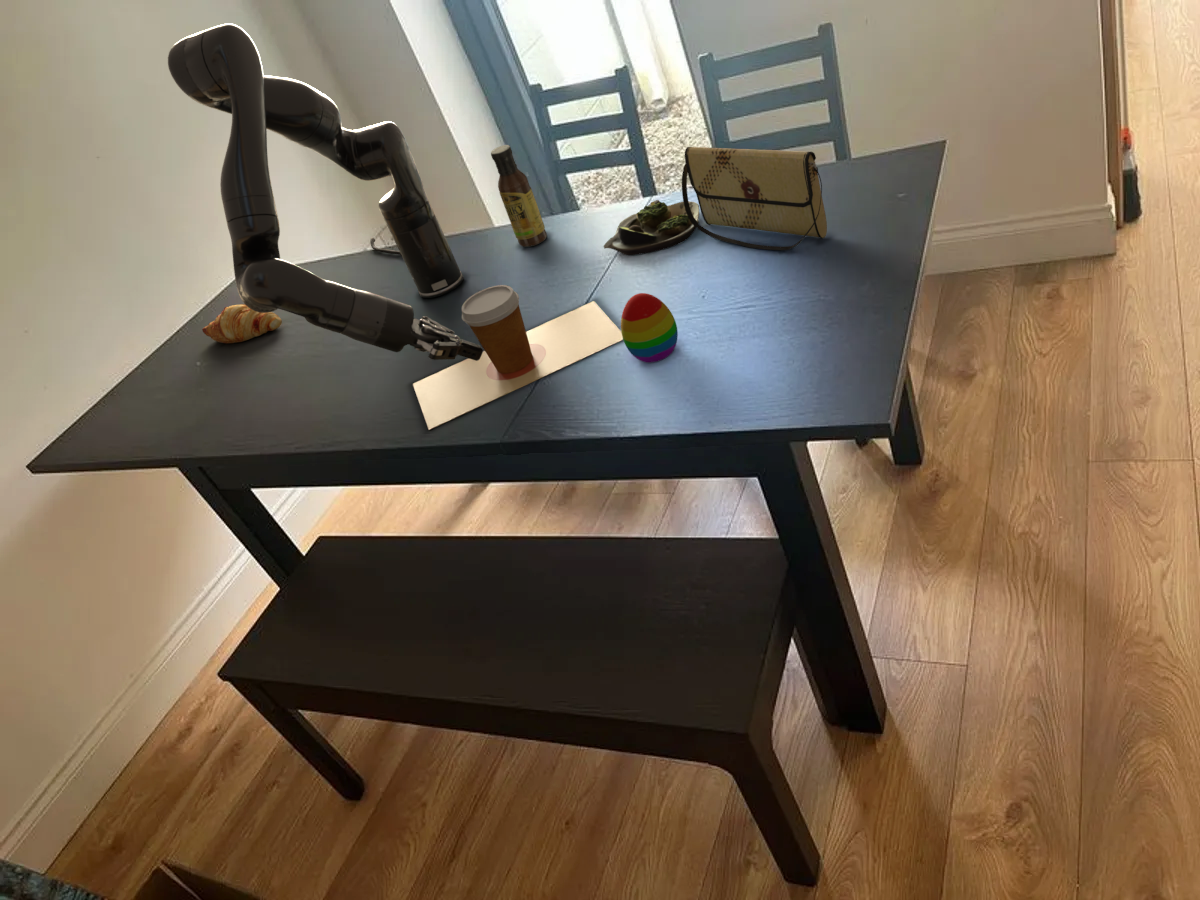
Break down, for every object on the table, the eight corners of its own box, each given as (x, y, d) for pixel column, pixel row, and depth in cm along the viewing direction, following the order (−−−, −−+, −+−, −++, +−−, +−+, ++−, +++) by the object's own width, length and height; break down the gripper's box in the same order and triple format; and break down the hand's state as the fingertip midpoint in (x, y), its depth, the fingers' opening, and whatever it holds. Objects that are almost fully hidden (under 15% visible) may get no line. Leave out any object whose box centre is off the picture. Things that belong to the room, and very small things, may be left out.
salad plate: (619, 217, 188) (612, 196, 186) (706, 197, 182) (700, 175, 180) (602, 263, 174) (595, 241, 171) (696, 243, 168) (690, 219, 165)
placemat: (412, 384, 159) (412, 383, 159) (593, 301, 162) (593, 300, 162) (429, 430, 145) (428, 429, 145) (626, 338, 148) (626, 337, 148)
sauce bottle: (513, 248, 193) (477, 156, 182) (533, 233, 196) (498, 142, 185) (535, 249, 189) (499, 155, 178) (555, 234, 192) (520, 141, 181)
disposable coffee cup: (537, 372, 149) (510, 307, 142) (482, 385, 151) (452, 321, 144) (545, 341, 156) (520, 277, 149) (493, 353, 158) (465, 292, 152)
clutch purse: (683, 238, 171) (660, 160, 163) (708, 220, 174) (687, 142, 166) (816, 257, 150) (797, 168, 141) (842, 235, 153) (825, 147, 144)
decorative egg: (675, 331, 145) (658, 274, 140) (688, 355, 138) (670, 296, 133) (626, 349, 146) (606, 294, 140) (636, 374, 139) (616, 317, 133)
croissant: (299, 334, 202) (292, 296, 201) (267, 338, 193) (259, 299, 192) (223, 344, 211) (216, 309, 209) (189, 349, 201) (181, 311, 200)
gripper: (390, 313, 136) (498, 348, 144) (379, 283, 147) (480, 318, 155) (372, 359, 139) (480, 391, 147) (363, 326, 150) (463, 358, 158)
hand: (480, 353), depth 151 cm, fingers closed
